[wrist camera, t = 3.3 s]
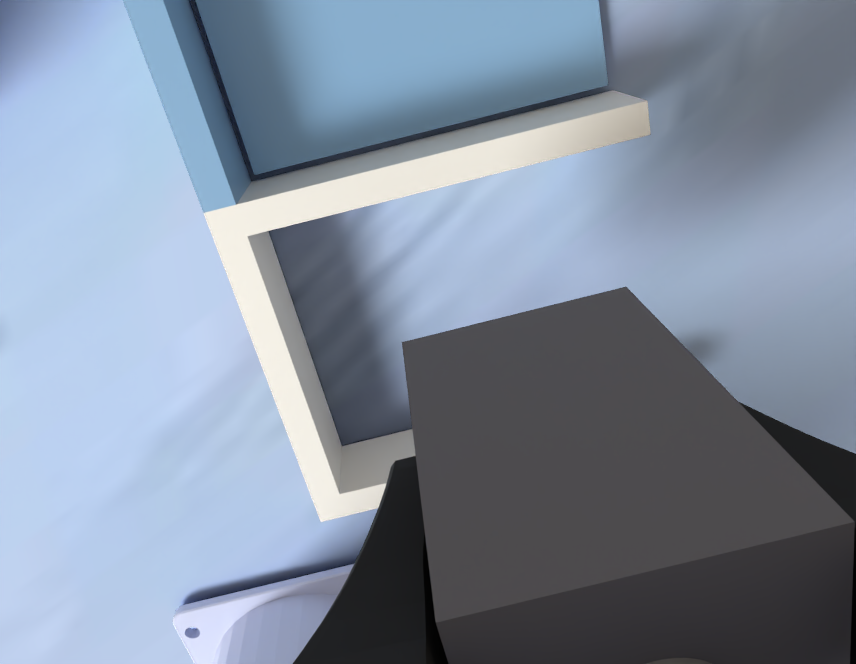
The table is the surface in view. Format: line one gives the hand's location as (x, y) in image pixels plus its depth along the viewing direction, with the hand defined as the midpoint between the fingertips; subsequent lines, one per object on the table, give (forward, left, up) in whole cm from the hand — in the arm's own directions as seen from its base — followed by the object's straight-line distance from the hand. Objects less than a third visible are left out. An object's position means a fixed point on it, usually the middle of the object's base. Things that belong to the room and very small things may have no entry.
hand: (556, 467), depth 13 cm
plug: (0, 0, -2) cm, 2 cm away
